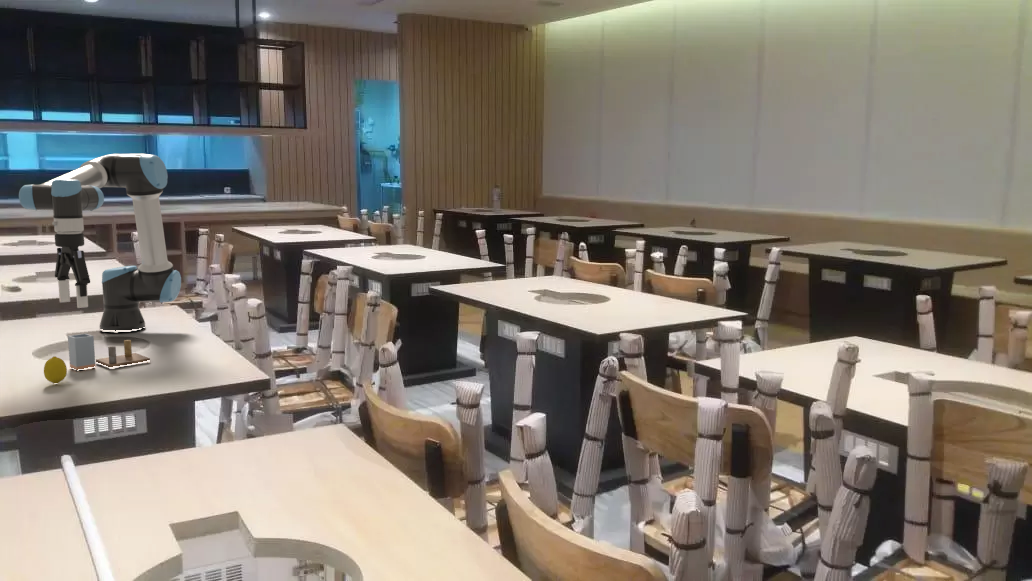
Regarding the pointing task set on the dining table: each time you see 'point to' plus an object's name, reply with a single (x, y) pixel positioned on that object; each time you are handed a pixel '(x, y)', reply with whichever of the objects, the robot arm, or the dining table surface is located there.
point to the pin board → (122, 356)
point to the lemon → (55, 370)
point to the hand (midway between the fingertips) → (73, 304)
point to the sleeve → (81, 351)
